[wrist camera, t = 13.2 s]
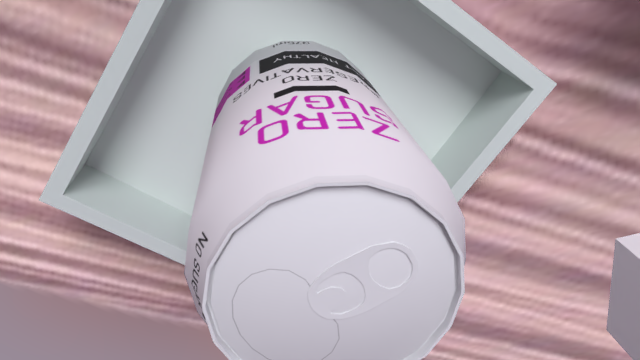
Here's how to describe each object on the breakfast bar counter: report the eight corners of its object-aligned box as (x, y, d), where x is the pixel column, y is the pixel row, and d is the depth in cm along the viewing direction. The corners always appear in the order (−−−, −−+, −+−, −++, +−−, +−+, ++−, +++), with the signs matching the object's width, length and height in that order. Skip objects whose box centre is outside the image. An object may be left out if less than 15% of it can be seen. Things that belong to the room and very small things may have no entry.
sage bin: (70, 161, 27) (38, 200, 23) (233, -155, 22) (228, -175, 18) (333, 287, 33) (344, 336, 29) (513, 62, 28) (557, 84, 24)
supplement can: (270, 209, 29) (283, 446, 16) (185, 88, 25) (107, 261, 12) (396, 141, 28) (525, 330, 15) (325, 5, 24) (412, 92, 11)
